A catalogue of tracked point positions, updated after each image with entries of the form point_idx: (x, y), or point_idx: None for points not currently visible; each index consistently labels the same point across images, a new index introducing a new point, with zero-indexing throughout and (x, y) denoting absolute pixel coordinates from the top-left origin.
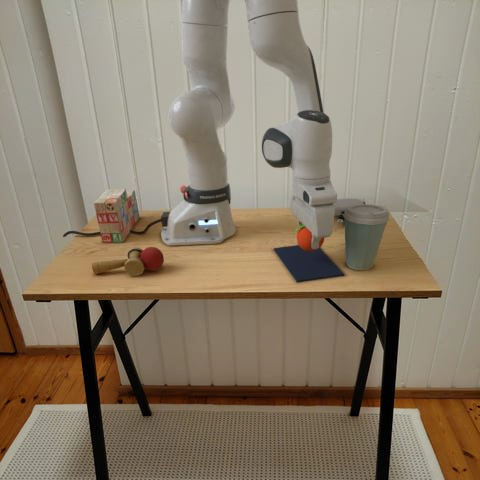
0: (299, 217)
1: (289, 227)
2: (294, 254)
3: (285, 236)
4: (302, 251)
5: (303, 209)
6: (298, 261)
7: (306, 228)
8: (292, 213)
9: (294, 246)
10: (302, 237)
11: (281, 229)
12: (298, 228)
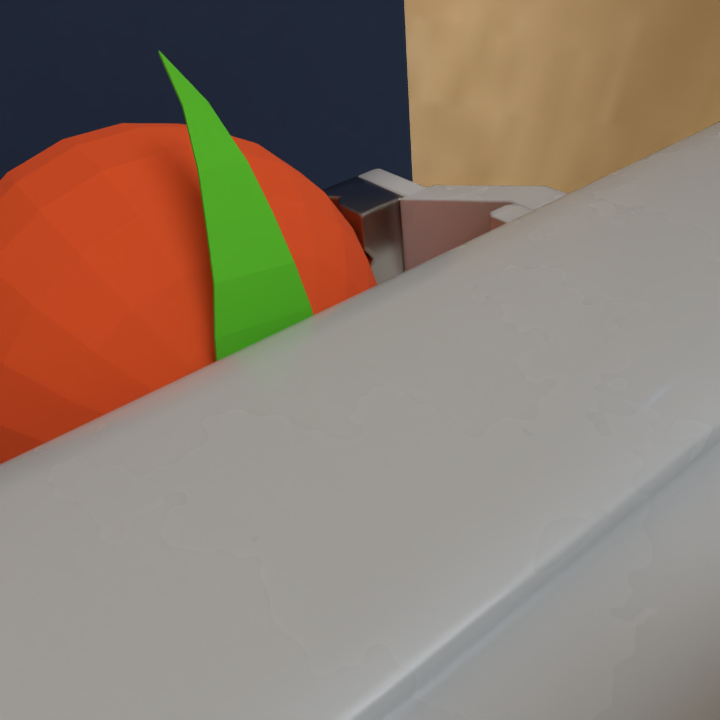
0: (474, 285)
1: (676, 81)
2: (218, 63)
3: (582, 25)
4: (280, 158)
5: (510, 600)
6: (18, 92)
7: (165, 384)
8: (706, 130)
9: (391, 85)
10: (8, 257)
11: (678, 10)
12: (213, 212)
